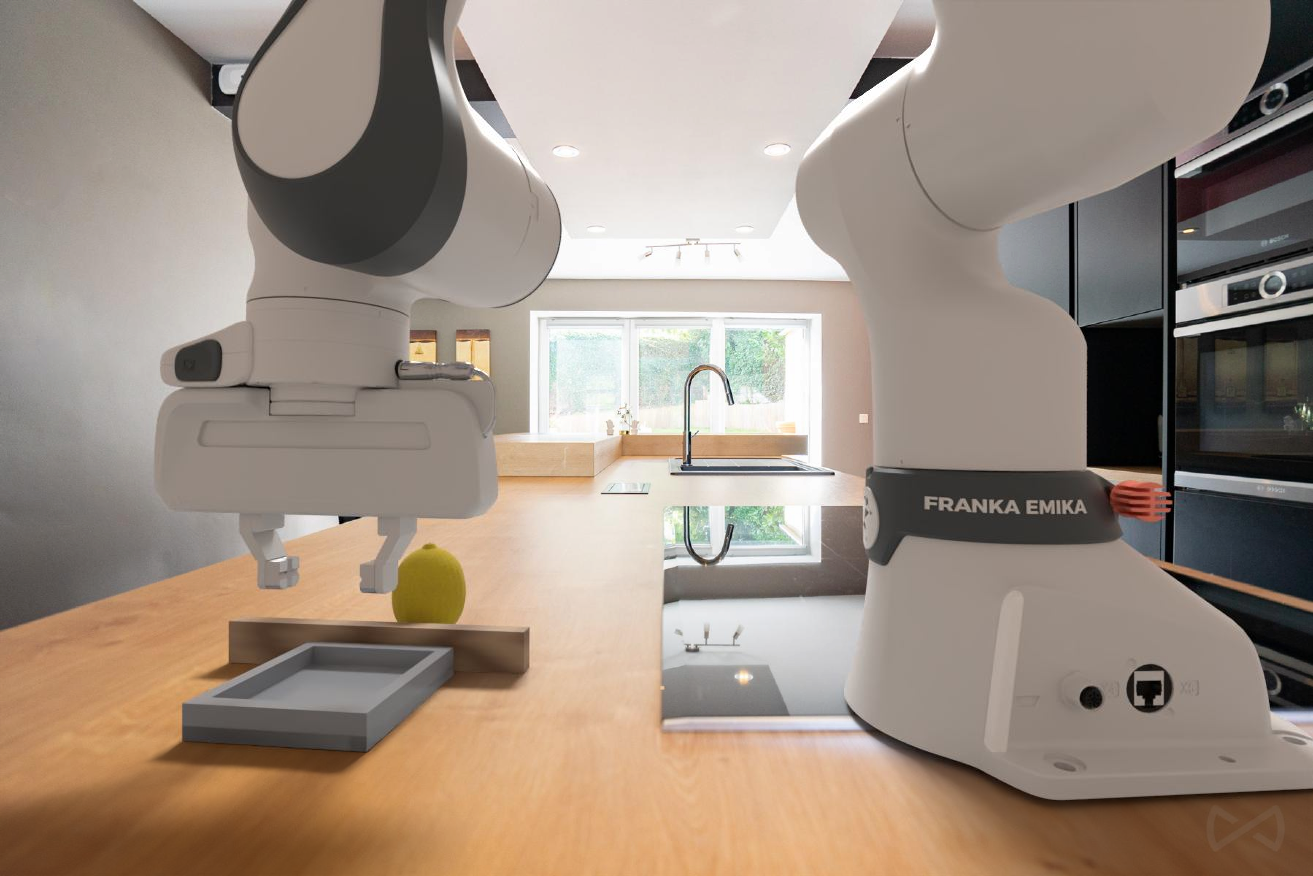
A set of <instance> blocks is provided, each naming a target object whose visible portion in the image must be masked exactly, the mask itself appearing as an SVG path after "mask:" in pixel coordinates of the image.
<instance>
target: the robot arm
mask: <svg viewBox="0 0 1313 876" xmlns="http://www.w3.org/2000/svg"><path fill="white" fill-rule="evenodd" d="M931 1H932V5H933V9H934V15H935V28H934V30H935V31H934V34H933V38H932V41H931V45H930V46H929V47H928V48H927V49H926V50H925V51H924V52H923V53H922V54H920V55H918V56H917V57H916V58H914V59H913V60H912V61H910V62H909V63H907V64H906V65H904V66H903V67H901V68H900V69H898V70H897V71H896V72H894V73H893V74H892V75H889V76H888V77H887V78H886V79H884V80H883V81H881V82H879V83H878V84H876V85H875V86H874V87H873V88H871V89H870V90H868V91H866V92H865V93H864V94H863V95H861V96H859V97H858V98H856V99H855V100H854V101H852V102H850V103H849V104H848V105H847V106H846V107H845V108H844V109H843V110H842V111H841V113H839V115H837V117H836V118H834V120H833V121H832V122H831V123H830V124H829V125H828V126H827V127H826V128H825V129H824V131H823V132H822V133H821V134H820V135H819V137H817V139H816V140H815V141H814V142H813V143H812V145H811V146H810V147H809V149H807V150H806V152H805V154H804V155H803V157H802V159H801V160H800V164H799V166H798V168H797V169H798V170H797V173H796V176H795V177H796V178H795V189H794V191H795V201H796V202H795V203H796V207H797V212H798V215H799V218H800V221H801V223H802V226H803V228H804V229H805V231H806V233H807V235H808V236H809V237H810V239H811V240H812V242H813V243H814V245H816V246H817V247H818V248H819V249H820V250H821V251H822V252H824V254H826V255H827V256H829V257H830V258H832V259H833V260H835V261H836V262H837V263H838V264H839V265H840V266H841V267H842V269H843V270H844V272H845V273H846V275H847V277H848V279H849V282H850V283H851V285H852V287H853V290H854V293H855V295H856V297H857V300H858V303H859V305H860V309H861V312H862V316H863V320H864V323H865V328H866V333H867V338H868V343H869V352H870V354H869V355H870V364H871V365H870V367H871V368H870V370H871V398H872V399H871V401H872V405H871V406H872V407H871V408H872V465H868V467H867V468H866V469H865V484H864V487H863V490H862V493H863V494H862V495H863V496H862V541H863V547H864V549H865V550H864V551H865V554H866V555H865V556H866V557H867V558H868V570H867V580H866V589H865V596H864V597H865V598H864V604H863V612H862V617H861V622H860V628H859V634H858V637H857V638H858V640H857V642H856V643H857V644H856V647H855V651H854V656H853V658H852V659H853V660H852V662H851V666H850V670H849V674H848V676H847V679H846V682H845V684H844V689H843V695H844V699H845V701H846V703H847V704H848V706H849V707H850V708H851V710H852V712H855V714H856V715H857V716H859V717H860V718H861V719H862V720H863V721H865V722H866V723H868V724H869V725H871V726H872V727H874V728H875V729H877V730H879V731H880V732H882V733H884V734H886V735H888V736H890V737H892V738H894V739H896V740H898V741H900V742H903V743H905V744H907V745H910V746H913V747H915V748H918V749H920V750H923V751H925V752H929V753H932V754H934V755H938V756H941V757H944V758H947V759H949V760H954V761H957V762H960V763H962V764H966V765H969V766H972V767H974V768H976V769H978V770H981V771H983V772H984V773H986V774H988V775H990V776H991V777H994V778H996V779H998V780H999V781H1001V782H1003V783H1006V784H1007V785H1010V786H1012V787H1013V788H1016V789H1018V790H1020V791H1022V792H1025V793H1027V794H1030V795H1031V796H1032V795H1033V796H1035V797H1038V798H1043V799H1047V800H1056V801H1066V800H1067V801H1070V800H1088V799H1089V800H1090V799H1091V800H1092V799H1115V798H1133V797H1134V798H1136V797H1155V796H1159V797H1160V796H1175V795H1176V796H1177V795H1197V794H1198V795H1199V794H1219V793H1220V794H1221V793H1222V794H1224V793H1239V792H1240V793H1241V792H1242V793H1243V792H1244V793H1245V792H1260V791H1261V792H1262V791H1263V792H1264V791H1282V790H1302V789H1303V790H1306V789H1307V790H1308V789H1313V736H1312V735H1310V734H1309V733H1307V732H1306V731H1305V730H1303V729H1301V728H1300V727H1298V726H1297V725H1295V724H1293V723H1292V722H1290V721H1289V720H1287V719H1285V718H1283V716H1282V717H1281V716H1280V715H1278V714H1276V713H1275V712H1273V711H1271V709H1270V708H1271V707H1270V702H1269V694H1268V688H1267V684H1266V679H1265V674H1264V671H1263V666H1262V664H1261V660H1260V657H1259V654H1258V652H1257V650H1256V647H1255V645H1254V643H1253V641H1252V640H1251V638H1250V637H1249V636H1248V635H1247V633H1246V632H1245V630H1244V629H1243V628H1242V627H1241V626H1240V625H1238V624H1237V623H1236V622H1235V621H1234V620H1233V619H1232V618H1230V617H1229V616H1227V615H1226V614H1225V613H1223V612H1222V611H1221V610H1219V609H1217V608H1216V607H1215V606H1213V605H1212V604H1211V603H1209V602H1207V601H1206V600H1205V599H1204V598H1203V597H1202V596H1199V595H1198V594H1197V593H1195V592H1194V591H1192V590H1191V589H1189V588H1188V587H1187V586H1186V585H1185V584H1183V583H1182V582H1180V581H1178V580H1177V579H1176V578H1175V577H1173V576H1172V575H1170V574H1169V573H1168V572H1166V571H1164V570H1163V569H1162V568H1160V567H1159V566H1158V565H1156V564H1155V563H1154V562H1153V561H1152V560H1150V559H1149V558H1147V557H1146V556H1145V555H1143V554H1141V553H1140V552H1139V551H1138V550H1136V549H1135V548H1134V547H1133V546H1131V545H1130V544H1128V543H1127V542H1125V541H1123V540H1122V539H1121V537H1123V536H1124V531H1123V529H1122V527H1121V525H1120V522H1119V518H1120V517H1119V516H1121V517H1123V518H1128V519H1137V520H1140V521H1142V522H1147V523H1154V522H1158V521H1159V522H1160V521H1162V520H1163V519H1165V518H1166V516H1165V515H1158V514H1155V513H1170V512H1171V509H1172V508H1170V507H1169V508H1168V507H1161V506H1156V505H1173V500H1168V499H1160V498H1156V497H1171V496H1172V495H1171V493H1170V492H1169V491H1168V492H1167V491H1158V490H1157V491H1156V490H1155V489H1166V487H1165V486H1164V485H1163V484H1160V483H1157V482H1153V481H1137V480H1131V479H1128V480H1123V481H1121V482H1119V483H1117V484H1114V483H1112V482H1111V481H1109V480H1108V479H1106V478H1105V477H1103V476H1101V475H1099V474H1097V473H1095V472H1093V471H1092V470H1090V469H1087V467H1088V466H1087V465H1088V464H1087V462H1088V461H1087V459H1088V458H1087V453H1088V452H1087V451H1088V450H1087V444H1088V443H1087V441H1088V439H1087V435H1088V433H1087V430H1088V429H1087V427H1088V425H1087V421H1088V420H1087V419H1088V418H1087V417H1088V415H1087V413H1088V411H1087V405H1088V404H1087V401H1088V400H1087V397H1088V396H1087V391H1088V388H1087V385H1088V384H1087V383H1088V381H1087V380H1088V376H1087V375H1088V370H1087V369H1088V368H1087V367H1088V364H1087V362H1088V355H1087V354H1088V352H1087V351H1088V346H1087V341H1086V339H1085V336H1084V334H1083V332H1082V330H1081V328H1080V325H1078V324H1077V322H1076V321H1075V320H1074V318H1072V316H1071V315H1070V314H1069V313H1068V312H1067V311H1066V310H1064V309H1063V308H1062V307H1061V306H1059V304H1057V303H1055V302H1054V301H1052V300H1050V299H1048V298H1046V297H1044V296H1041V295H1039V294H1037V293H1034V292H1031V291H1028V290H1026V289H1023V288H1020V287H1017V286H1013V285H1011V284H1010V283H1009V281H1008V279H1007V278H1006V276H1005V273H1004V270H1003V267H1002V263H1001V260H1000V253H999V244H998V241H999V235H1000V231H1001V229H1002V227H1005V226H1006V225H1010V224H1012V223H1015V222H1018V221H1021V220H1024V219H1026V218H1030V217H1033V216H1036V215H1039V214H1042V213H1045V212H1048V211H1052V210H1054V209H1056V208H1060V207H1063V206H1066V205H1069V204H1072V203H1075V202H1079V201H1081V200H1084V199H1087V198H1091V197H1093V196H1097V195H1100V194H1102V193H1105V192H1108V191H1111V190H1114V189H1117V188H1119V187H1120V186H1122V185H1124V184H1126V183H1128V182H1130V181H1132V180H1134V179H1135V178H1138V177H1139V176H1141V175H1144V174H1146V173H1147V172H1149V171H1151V170H1153V169H1155V168H1157V167H1158V166H1161V165H1162V164H1163V165H1164V163H1166V162H1168V161H1170V160H1171V159H1174V158H1175V157H1177V156H1178V155H1181V154H1182V153H1185V152H1187V151H1188V150H1189V149H1191V148H1193V147H1195V146H1196V145H1199V144H1200V143H1203V142H1204V141H1206V140H1207V139H1210V138H1211V137H1213V136H1215V135H1217V134H1218V133H1219V132H1221V131H1222V130H1223V129H1224V128H1226V127H1227V125H1228V124H1230V122H1231V121H1232V120H1233V118H1234V117H1235V115H1236V114H1237V113H1238V112H1239V110H1240V108H1241V107H1242V105H1243V104H1244V102H1245V101H1246V99H1247V97H1248V95H1249V93H1250V92H1251V90H1252V88H1253V86H1254V84H1255V82H1256V80H1257V78H1258V76H1259V75H1258V74H1259V73H1260V71H1261V70H1260V69H1261V68H1262V65H1263V63H1264V59H1265V56H1266V52H1267V48H1268V44H1269V41H1270V40H1269V39H1270V33H1271V22H1272V21H1271V19H1272V18H1271V17H1272V16H1271V15H1272V14H1271V13H1272V12H1271V10H1272V9H1271V0H931ZM466 2H467V0H291V1H290V3H289V4H288V6H287V7H286V9H285V11H284V12H283V14H282V15H281V16H280V18H279V19H278V21H277V22H276V24H275V25H274V26H273V28H272V30H270V32H269V33H268V35H267V37H265V40H264V41H263V42H262V44H261V45H260V47H259V48H258V49H257V51H256V52H255V54H254V56H253V57H252V58H251V60H250V62H249V63H248V66H247V68H246V70H245V71H244V73H243V75H242V78H241V80H240V81H239V84H238V87H237V89H236V92H235V95H234V99H233V104H232V109H231V111H232V112H231V140H232V146H233V152H234V157H235V161H236V165H237V168H238V171H239V174H240V177H241V181H242V183H243V186H244V188H245V189H244V190H245V191H246V193H247V211H246V213H247V215H246V216H247V218H246V219H247V220H246V224H247V225H246V226H247V233H248V237H249V240H250V243H251V246H252V250H253V255H254V270H253V271H254V272H253V276H252V279H251V283H250V285H249V287H248V289H247V294H246V300H245V302H246V303H245V304H246V308H245V320H242V321H239V322H235V323H233V324H231V325H229V326H226V327H224V328H221V329H220V330H217V331H215V332H213V333H210V334H207V335H204V336H202V337H199V338H196V339H193V340H191V341H190V340H189V341H188V342H185V343H182V344H178V345H176V346H173V347H171V348H170V347H169V348H168V349H166V350H165V351H164V352H163V353H162V355H161V357H160V363H159V364H160V365H159V371H160V372H159V373H160V378H161V380H162V383H164V384H165V385H166V386H170V387H175V388H180V389H176V390H174V391H173V392H171V393H169V394H168V395H167V397H166V398H165V399H164V400H163V402H162V403H161V405H160V408H159V411H158V413H157V418H156V425H155V435H154V447H153V448H154V449H153V450H154V451H153V484H154V485H153V486H154V492H155V494H156V496H157V497H158V499H159V500H160V502H161V503H162V505H163V506H164V508H165V509H166V510H167V511H168V512H172V513H174V512H176V513H177V512H178V513H209V514H210V513H211V514H214V513H215V514H239V515H238V516H239V520H238V521H239V524H238V528H239V529H238V533H239V535H240V537H241V538H242V539H243V541H244V543H245V545H246V546H247V548H248V550H249V552H250V553H251V555H252V557H253V558H254V560H255V561H257V563H256V564H257V567H256V568H257V576H256V578H257V581H256V582H257V583H256V584H257V587H258V588H259V589H260V590H280V591H281V590H283V591H285V590H287V589H288V588H293V587H296V585H297V584H298V583H299V581H300V573H299V571H298V570H299V568H300V556H298V555H288V553H287V551H286V548H285V547H284V544H283V542H282V539H281V537H280V535H279V533H278V529H282V528H284V527H285V519H286V518H285V517H286V515H288V516H289V515H290V516H322V517H323V516H326V517H327V516H328V517H329V516H330V517H364V518H368V517H369V518H370V517H371V518H377V536H379V537H386V538H385V539H384V540H385V541H384V542H383V544H382V546H381V547H380V550H379V551H378V553H377V555H376V556H375V559H373V560H370V561H367V562H364V563H363V562H362V563H361V564H359V577H360V579H361V581H360V582H359V591H360V592H361V593H362V594H378V595H380V594H381V595H386V594H389V593H392V591H393V590H395V589H396V587H397V584H398V567H399V560H401V558H402V557H403V555H404V553H405V552H406V550H407V549H408V547H409V546H410V544H411V543H412V540H413V538H414V537H415V536H416V534H417V533H418V519H440V520H441V519H443V520H444V519H445V520H447V519H449V520H468V519H472V518H476V517H481V516H483V515H485V514H486V513H488V512H489V511H490V510H491V508H492V507H493V506H494V505H495V503H496V501H498V497H499V475H498V463H497V453H496V446H495V438H494V432H493V429H494V427H495V425H496V422H497V418H498V389H497V387H496V384H495V382H494V380H493V379H492V378H491V376H490V375H489V374H488V373H486V372H485V371H483V370H481V369H478V368H477V367H476V368H475V365H474V363H472V362H468V361H450V362H445V363H443V362H432V361H418V360H417V361H414V360H413V361H411V360H410V347H411V346H410V344H411V342H410V341H411V340H410V339H411V337H410V336H411V310H412V309H411V308H412V305H413V304H414V303H415V302H417V300H422V299H435V300H439V301H443V302H446V303H451V304H454V305H458V306H462V307H466V308H472V309H499V308H501V309H502V308H506V307H510V306H513V305H516V304H518V303H520V302H521V301H524V300H525V299H526V298H528V297H529V296H531V295H532V294H533V293H535V292H536V291H537V290H538V289H539V288H540V287H541V285H542V284H543V283H544V281H545V280H547V278H548V277H549V274H550V273H551V271H552V270H553V267H554V265H555V264H556V261H557V258H558V255H559V252H560V249H561V248H560V247H561V241H562V232H563V231H562V229H563V227H562V225H563V224H562V216H561V211H560V208H559V204H558V201H557V199H556V197H555V195H554V193H553V191H552V189H550V187H549V185H547V184H546V182H545V181H544V180H543V179H542V178H541V176H540V175H539V174H538V172H537V171H536V170H535V169H534V168H533V167H532V166H531V165H530V164H529V162H528V161H527V160H526V159H525V158H524V157H523V156H522V155H521V154H520V153H519V152H518V151H517V150H516V149H515V148H514V147H513V145H512V144H510V142H508V141H507V140H506V139H505V138H503V137H502V136H501V135H500V134H498V132H496V131H495V130H494V128H492V127H491V126H490V124H488V123H487V121H486V120H484V118H483V117H482V116H481V115H480V114H479V113H478V112H477V111H476V110H475V109H474V108H472V106H471V105H470V102H469V101H468V99H467V97H466V96H467V95H466V94H465V92H464V89H463V87H462V83H461V81H460V80H461V79H460V76H459V73H458V69H457V65H456V58H455V49H454V48H455V46H454V43H455V40H454V39H455V35H456V29H457V28H458V24H459V22H460V18H461V15H462V13H463V10H464V9H465V8H464V7H465V5H466ZM475 376H476V377H479V378H480V380H479V379H476V380H475V379H474V378H475ZM481 379H482V380H481Z"/></svg>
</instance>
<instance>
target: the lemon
mask: <svg viewBox="0 0 1313 876" xmlns="http://www.w3.org/2000/svg"><path fill="white" fill-rule="evenodd" d="M466 595H467V585H466V579H465V573H464V570H463V567H462V565H461V563H460V561H459V560H458V558H457V557H455V555H453V554H452V553H451V552H450V551H448V550H446V549H444V548H442V547H439V546H438V545H436V544H435V542H427V543H424V544H423V546H422V547H420V548H417V549H416V550H414V551H412V552H411V553H409V554H408V555H407V556H406V557H405V558H404V559H403V560H402V561H401V562H400V564H399V565H398V584H397V587H396V589H395V590H393V591H391V607H392V612H393V616H394V618H395V621H396V622H407V623H434V624H457V623H458V621H459V620H460V618H461V616H462V614H463V611H464V609H465V603H466V598H467V597H466Z"/></svg>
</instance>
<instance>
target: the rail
mask: <svg viewBox="0 0 1313 876" xmlns="http://www.w3.org/2000/svg"><path fill="white" fill-rule="evenodd" d="M530 631H531V629H530V626H510V625H509V626H507V625H485V624H484V625H483V624H458V623H456V624H434V623H407V622H397V621H380V620H378V621H376V620H374V621H372V620H354V619H353V620H351V619H349V620H348V619H324V618H323V619H321V618H319V619H318V618H295V617H272V616H271V617H270V616H267V617H266V616H265V617H264V616H246V615H245V616H243V615H241V616H238V617H236V618H234V619H231V620H229V621H228V663H232V664H250V665H251V664H253V665H255V664H256V665H262V664H264V663H266V662H268V661H270V660H272V659H274V658H277V657H279V656H281V655H283V654H285V653H287V652H289V651H291V650H293V649H295V648H297V647H299V646H301V645H303V644H305V643H307V642H309V641H316V642H340V643H364V644H389V645H413V646H437V647H454V656H453V672H469V673H472V672H473V673H496V674H499V673H500V674H525V673H526V672H527V671H528V669H530V637H531V635H530V633H531V632H530Z"/></svg>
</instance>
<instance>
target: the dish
mask: <svg viewBox="0 0 1313 876" xmlns="http://www.w3.org/2000/svg"><path fill="white" fill-rule="evenodd" d="M453 656H454V647H437V646H413V645H389V644H364V643H340V642H316V641H309V642H307V643H305V644H303V645H301V646H299V647H297V648H295V649H293V650H291V651H289V652H287V653H285V654H283V655H281V656H279V657H277V658H274V659H272V660H270V661H268V662H266V663H264V664H259V665H258V666H256V667H254V668H252V669H250V670H248V671H246V672H244V673H242V674H240V675H237V676H236V677H233V678H231V679H229V680H227V681H226V682H223V683H221V684H219V685H217V686H215V687H213V688H211V689H209V690H207V691H205V692H203V693H200V694H198V695H197V696H194V697H192V698H190V699H188V700H186V701H184V702H183V703H181V718H182V719H181V741H183V742H196V743H197V742H199V743H213V744H214V743H216V744H231V745H247V746H265V747H277V748H279V747H281V748H297V749H314V750H328V751H330V750H331V751H344V752H345V751H346V752H347V751H348V752H361V753H367V752H368V751H369V750H371V749H372V748H373V747H374V746H375V745H377V743H378V742H380V741H381V740H382V739H383V738H385V737H386V736H387V735H388V734H389V733H390V732H391V731H393V730H394V729H395V728H396V727H397V726H398V725H399V724H401V723H402V722H403V721H404V720H405V719H406V718H408V717H409V716H410V715H411V714H412V713H414V711H415V710H417V709H418V708H419V707H420V706H421V705H422V704H423V703H424V702H425V701H426V700H427V699H428V698H430V697H431V696H432V695H433V694H434V693H436V692H437V690H439V688H441V686H443V685H444V684H445V683H446V682H447V681H448V680H449V679H451V678H452V677H453V676H454V671H453Z"/></svg>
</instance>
